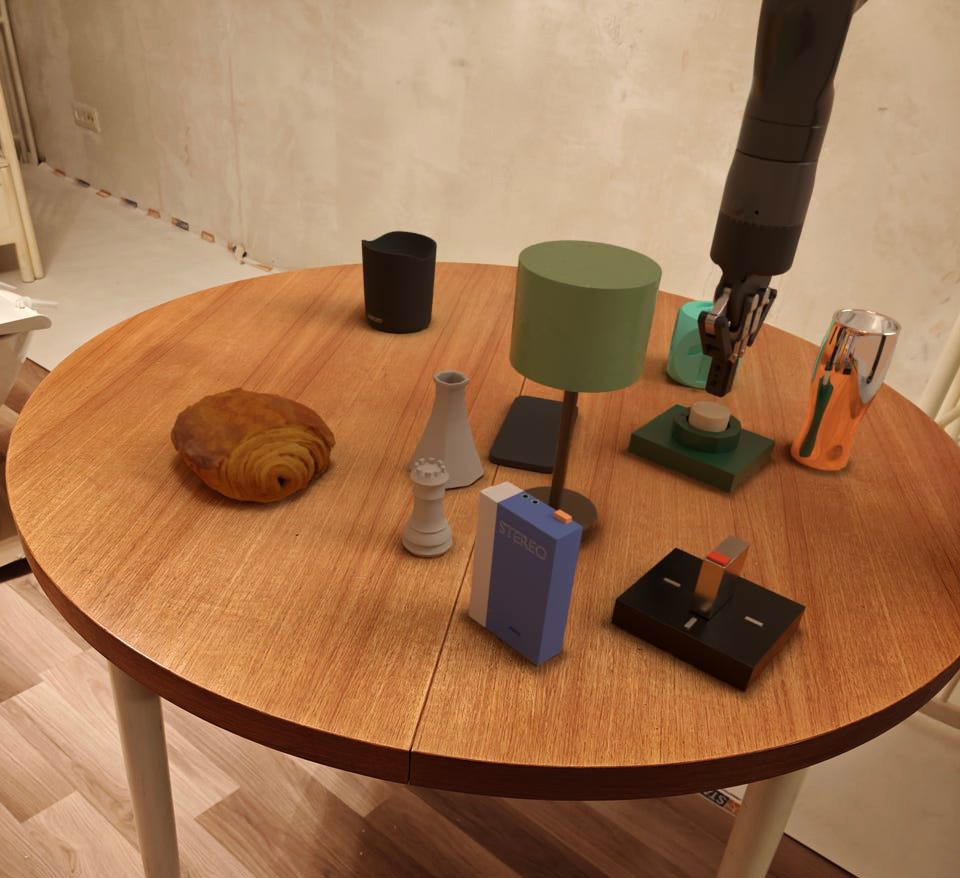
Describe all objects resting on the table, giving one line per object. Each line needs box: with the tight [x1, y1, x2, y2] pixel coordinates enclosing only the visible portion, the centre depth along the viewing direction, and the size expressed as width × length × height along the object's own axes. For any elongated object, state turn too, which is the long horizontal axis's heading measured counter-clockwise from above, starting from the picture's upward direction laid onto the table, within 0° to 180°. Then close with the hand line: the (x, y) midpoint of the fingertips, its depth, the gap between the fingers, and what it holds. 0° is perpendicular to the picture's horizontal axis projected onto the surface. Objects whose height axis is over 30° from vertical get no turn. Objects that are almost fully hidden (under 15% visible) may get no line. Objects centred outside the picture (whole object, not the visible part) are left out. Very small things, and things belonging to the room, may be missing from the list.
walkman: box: [468, 480, 583, 667], centre depth 66 cm, size 8×3×12 cm, turn 43°
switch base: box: [627, 403, 777, 494], centre depth 93 cm, size 12×10×4 cm
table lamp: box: [508, 239, 663, 544], centre depth 75 cm, size 11×11×24 cm
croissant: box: [170, 387, 337, 504], centre depth 84 cm, size 14×16×8 cm
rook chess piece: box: [401, 458, 453, 558], centre depth 76 cm, size 4×4×8 cm
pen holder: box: [360, 230, 438, 334], centre depth 114 cm, size 9×9×10 cm
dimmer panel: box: [610, 547, 807, 693], centre depth 72 cm, size 12×10×3 cm
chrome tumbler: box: [789, 308, 902, 472], centre depth 91 cm, size 7×7×15 cm
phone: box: [488, 394, 579, 474], centre depth 95 cm, size 7×1×15 cm
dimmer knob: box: [689, 534, 751, 619], centre depth 69 cm, size 4×2×5 cm, turn 141°
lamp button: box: [688, 400, 731, 432], centre depth 92 cm, size 4×4×2 cm
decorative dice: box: [666, 300, 742, 390], centre depth 108 cm, size 8×8×8 cm
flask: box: [407, 369, 485, 490], centre depth 85 cm, size 7×7×10 cm
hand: (717, 392), depth 90 cm, fingers closed
